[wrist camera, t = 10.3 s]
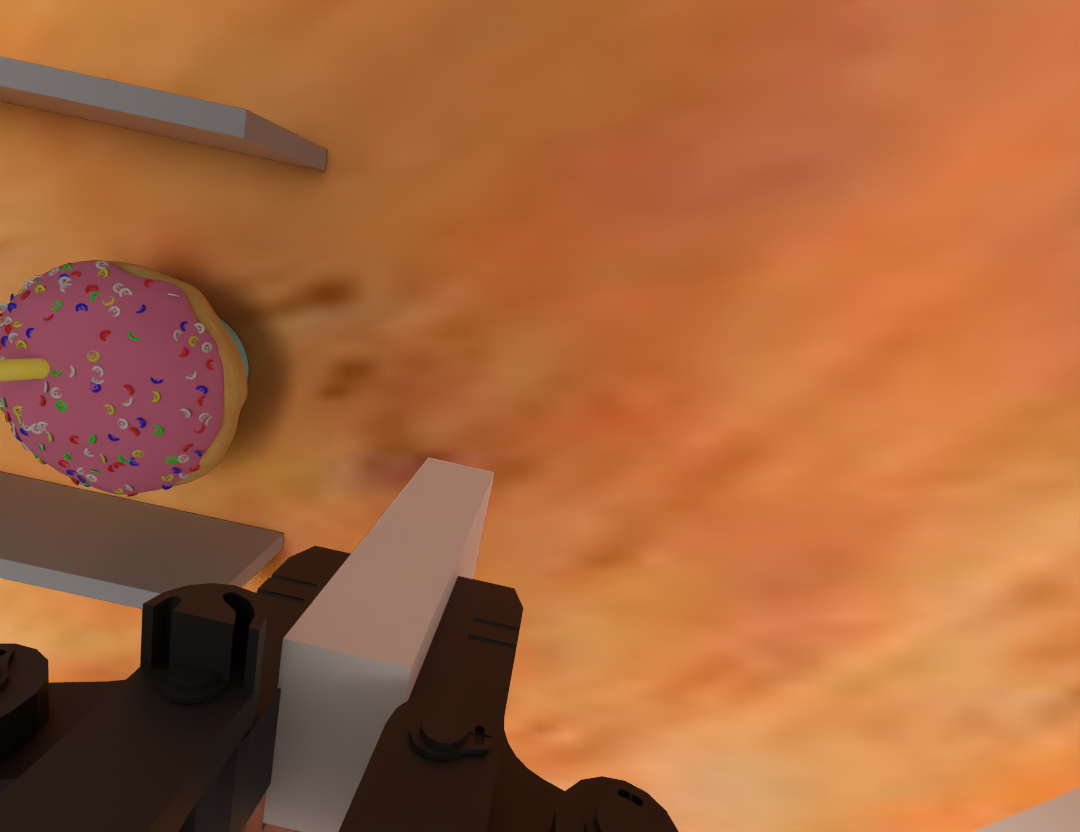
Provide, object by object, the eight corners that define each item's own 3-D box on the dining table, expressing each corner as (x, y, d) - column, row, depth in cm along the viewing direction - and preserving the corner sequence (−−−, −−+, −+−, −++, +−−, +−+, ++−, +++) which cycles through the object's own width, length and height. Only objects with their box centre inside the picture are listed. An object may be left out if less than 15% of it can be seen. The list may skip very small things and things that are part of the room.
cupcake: (67, 368, 26) (-337, 443, 15) (170, 215, 24) (-198, 163, 13) (225, 492, 27) (-36, 656, 16) (335, 355, 25) (133, 424, 14)
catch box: (-33, 72, 23) (-233, 6, 18) (327, 150, 23) (246, 109, 18) (-23, 482, 28) (-182, 538, 22) (282, 549, 28) (205, 622, 22)
